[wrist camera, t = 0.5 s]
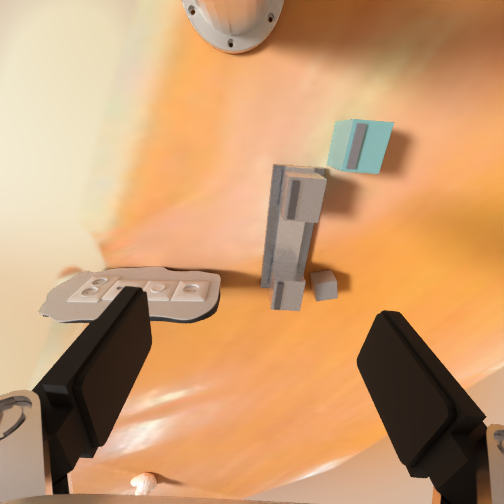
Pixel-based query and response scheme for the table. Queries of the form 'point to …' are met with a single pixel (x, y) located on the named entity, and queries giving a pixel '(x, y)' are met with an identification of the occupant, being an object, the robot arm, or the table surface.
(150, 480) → the white creature statuette
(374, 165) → the module
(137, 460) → the table surface
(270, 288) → the board
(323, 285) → the block
